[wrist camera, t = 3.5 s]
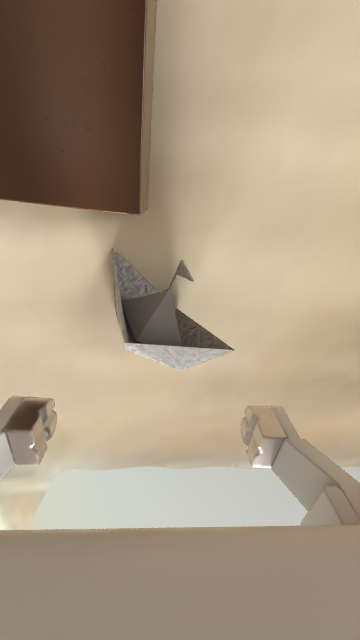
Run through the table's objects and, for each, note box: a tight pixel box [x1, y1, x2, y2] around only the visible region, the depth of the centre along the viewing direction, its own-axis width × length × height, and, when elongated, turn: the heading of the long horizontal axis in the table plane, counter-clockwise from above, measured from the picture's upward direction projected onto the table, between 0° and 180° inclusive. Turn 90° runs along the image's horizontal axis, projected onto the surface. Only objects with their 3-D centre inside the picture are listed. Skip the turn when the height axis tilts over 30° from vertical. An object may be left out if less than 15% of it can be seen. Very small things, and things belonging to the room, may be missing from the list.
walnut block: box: [0, 0, 157, 216], centre depth 12 cm, size 12×12×5 cm
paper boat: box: [112, 249, 234, 371], centre depth 18 cm, size 12×6×9 cm
